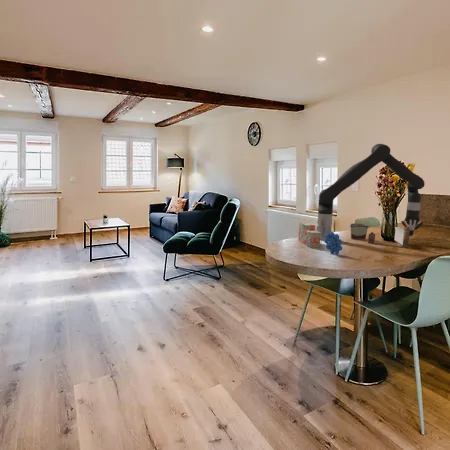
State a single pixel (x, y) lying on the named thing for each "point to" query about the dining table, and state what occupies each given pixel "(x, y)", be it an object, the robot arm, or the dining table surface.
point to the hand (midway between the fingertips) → (410, 235)
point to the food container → (358, 231)
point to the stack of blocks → (309, 235)
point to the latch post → (371, 238)
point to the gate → (399, 235)
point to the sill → (389, 244)
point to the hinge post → (406, 237)
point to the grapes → (333, 242)
